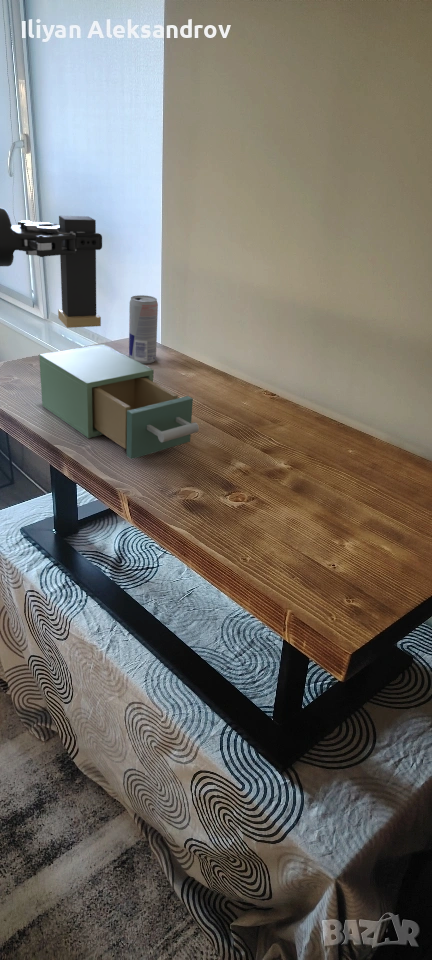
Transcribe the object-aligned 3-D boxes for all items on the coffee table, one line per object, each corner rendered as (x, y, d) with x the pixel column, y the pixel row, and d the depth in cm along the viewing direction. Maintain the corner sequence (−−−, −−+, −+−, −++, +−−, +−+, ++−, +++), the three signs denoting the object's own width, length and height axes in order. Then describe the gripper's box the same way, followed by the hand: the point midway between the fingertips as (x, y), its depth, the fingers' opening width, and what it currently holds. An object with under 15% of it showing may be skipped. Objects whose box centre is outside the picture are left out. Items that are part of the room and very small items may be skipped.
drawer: (208, 452, 89) (212, 408, 86) (149, 472, 83) (150, 425, 79) (138, 410, 100) (139, 370, 97) (81, 425, 94) (80, 382, 90)
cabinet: (152, 421, 99) (153, 369, 95) (88, 438, 92) (87, 383, 88) (103, 392, 108) (103, 343, 104) (42, 405, 101) (39, 354, 97)
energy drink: (139, 353, 127) (140, 293, 121) (161, 359, 125) (163, 298, 119) (123, 359, 123) (123, 298, 117) (145, 366, 121) (146, 303, 115)
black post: (58, 318, 97) (54, 214, 90) (91, 316, 99) (89, 215, 92) (67, 327, 93) (63, 220, 86) (100, 326, 95) (100, 221, 88)
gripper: (-22, 215, 77) (112, 218, 84) (-38, 199, 88) (83, 204, 95) (-16, 277, 81) (112, 276, 88) (-32, 255, 91) (84, 255, 99)
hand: (96, 238), depth 92 cm, fingers closed on black post, 3 cm apart
